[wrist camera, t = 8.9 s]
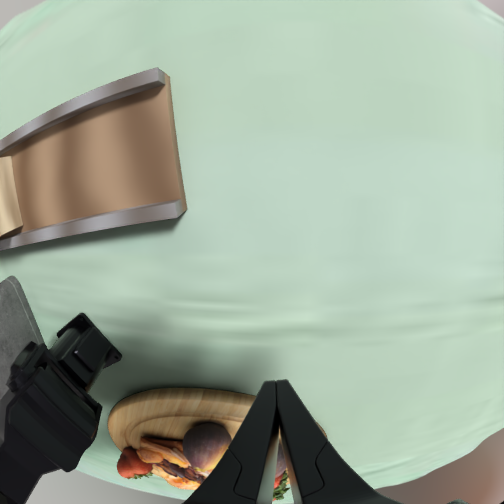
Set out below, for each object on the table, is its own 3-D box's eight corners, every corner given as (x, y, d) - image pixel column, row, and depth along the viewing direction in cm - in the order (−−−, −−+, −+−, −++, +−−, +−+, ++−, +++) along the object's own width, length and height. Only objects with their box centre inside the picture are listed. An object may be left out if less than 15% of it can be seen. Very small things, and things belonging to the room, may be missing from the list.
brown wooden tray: (169, 76, 17) (151, 63, 13) (187, 209, 20) (172, 221, 17) (-33, 173, 19) (-53, 179, 15) (-18, 250, 22) (-36, 261, 19)
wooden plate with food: (133, 465, 38) (123, 497, 30) (87, 356, 27) (56, 405, 19) (295, 484, 39) (298, 518, 32) (360, 389, 28) (379, 445, 20)
